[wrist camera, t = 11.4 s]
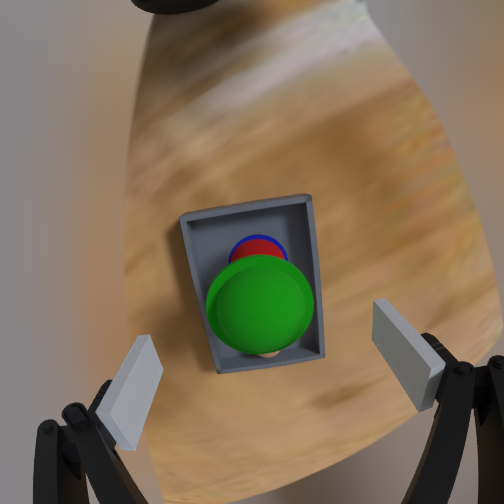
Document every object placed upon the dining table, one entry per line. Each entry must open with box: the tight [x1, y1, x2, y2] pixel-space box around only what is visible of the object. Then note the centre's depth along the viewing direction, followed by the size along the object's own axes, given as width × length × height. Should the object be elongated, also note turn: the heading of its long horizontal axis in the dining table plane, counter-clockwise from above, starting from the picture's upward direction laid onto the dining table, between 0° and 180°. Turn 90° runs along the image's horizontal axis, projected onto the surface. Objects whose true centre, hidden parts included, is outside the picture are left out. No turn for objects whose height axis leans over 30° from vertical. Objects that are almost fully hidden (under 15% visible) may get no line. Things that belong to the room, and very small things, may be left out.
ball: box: [258, 350, 280, 358], centre depth 33 cm, size 4×4×4 cm
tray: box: [179, 193, 325, 374], centre depth 32 cm, size 19×13×3 cm
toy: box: [206, 234, 314, 354], centre depth 25 cm, size 8×8×15 cm
